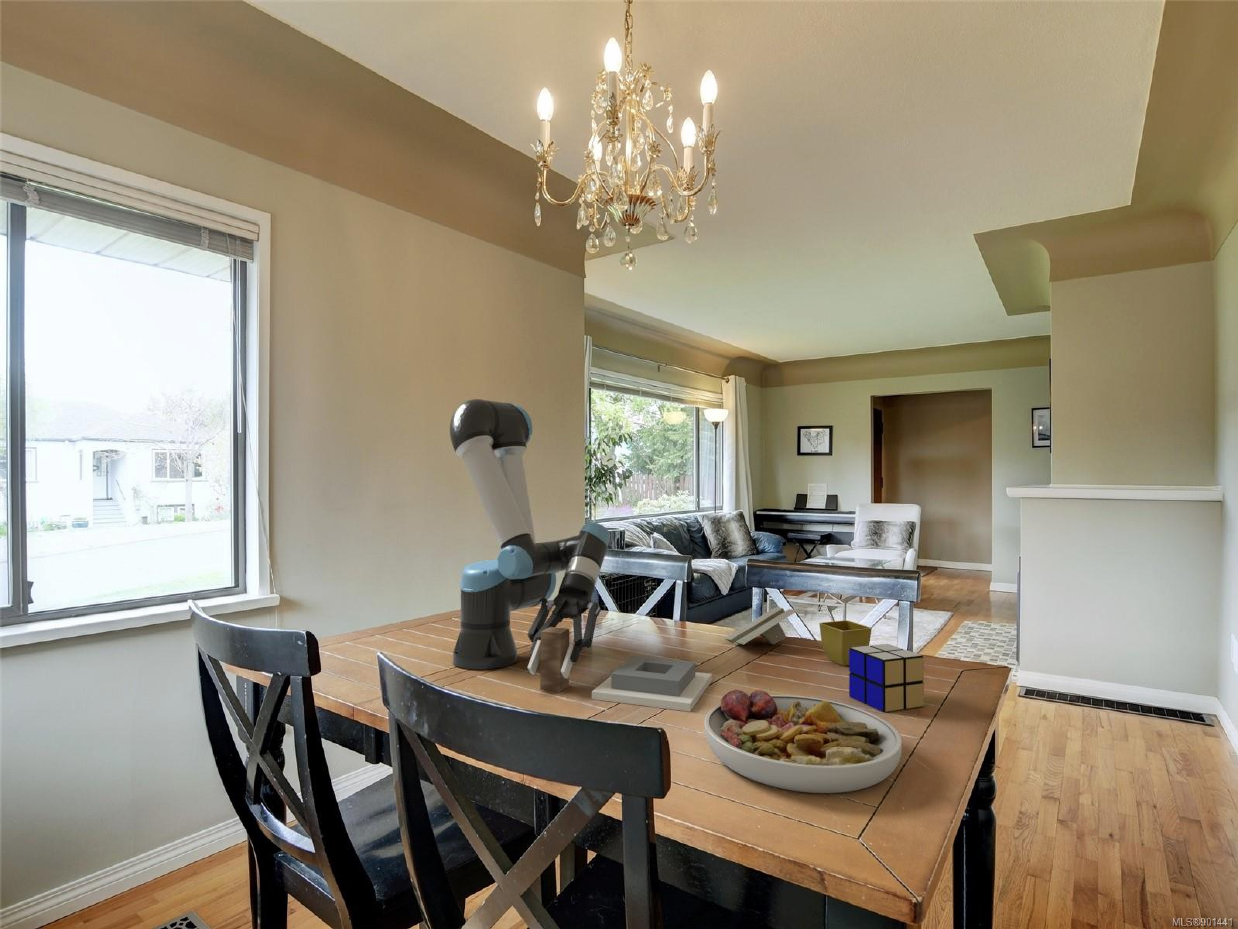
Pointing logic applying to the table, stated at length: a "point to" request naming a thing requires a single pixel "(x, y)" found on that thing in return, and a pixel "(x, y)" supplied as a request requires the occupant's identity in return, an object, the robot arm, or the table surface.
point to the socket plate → (655, 698)
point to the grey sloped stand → (763, 628)
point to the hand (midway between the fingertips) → (547, 673)
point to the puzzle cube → (886, 677)
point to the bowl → (802, 742)
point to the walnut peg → (553, 658)
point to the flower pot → (843, 639)
